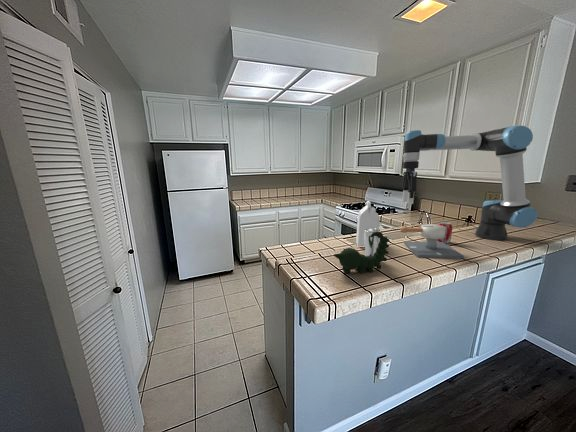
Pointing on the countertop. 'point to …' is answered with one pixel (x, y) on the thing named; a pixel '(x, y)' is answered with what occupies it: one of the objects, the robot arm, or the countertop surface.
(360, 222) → the milk
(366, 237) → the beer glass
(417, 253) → the post base
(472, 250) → the countertop surface
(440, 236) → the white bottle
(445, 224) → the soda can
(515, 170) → the robot arm
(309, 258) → the countertop surface
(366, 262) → the toy figurine
